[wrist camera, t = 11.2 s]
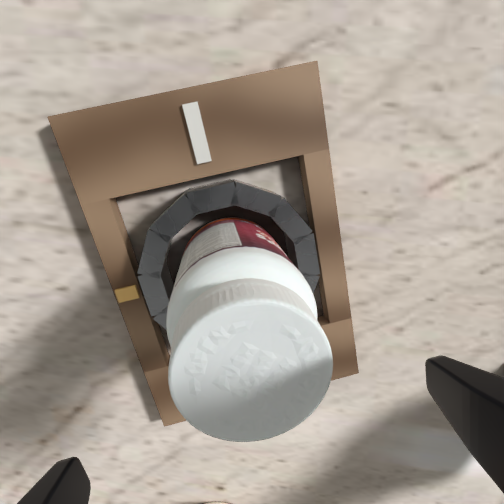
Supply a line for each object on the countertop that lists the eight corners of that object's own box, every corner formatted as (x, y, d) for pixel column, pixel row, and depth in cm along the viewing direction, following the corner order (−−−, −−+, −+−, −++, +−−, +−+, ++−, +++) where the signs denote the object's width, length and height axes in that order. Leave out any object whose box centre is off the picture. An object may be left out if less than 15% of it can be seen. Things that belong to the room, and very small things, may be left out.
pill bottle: (295, 271, 21) (384, 387, 10) (220, 323, 22) (231, 487, 11) (242, 194, 19) (286, 239, 9) (161, 252, 20) (104, 366, 9)
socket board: (351, 362, 24) (367, 385, 21) (166, 413, 23) (161, 442, 21) (310, 67, 18) (325, 52, 15) (58, 119, 17) (33, 112, 15)
